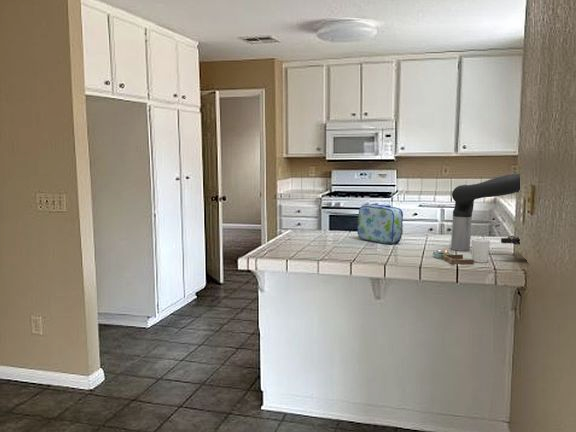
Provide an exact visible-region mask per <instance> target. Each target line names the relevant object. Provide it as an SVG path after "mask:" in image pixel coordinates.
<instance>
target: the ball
mask: <svg viewBox="0 0 576 432" xmlns="http://www.w3.org/2000/svg"><path fill="white" fill-rule="evenodd" d="M443 251H444V250H442V249H437V250H436V251H435V252H436V253H438V254H442V253H443Z"/></svg>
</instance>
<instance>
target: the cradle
mask: <svg viewBox="0 0 576 432" xmlns="http://www.w3.org/2000/svg"><path fill="white" fill-rule="evenodd" d="M441 260H443V261H444V260H445V261H444V262H447V263H448V264H451V265H453V266H455V264H461V265H474V264H475V262H474V260H473V259H472V258H470V259H464V254H453V255H442V259H441Z"/></svg>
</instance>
